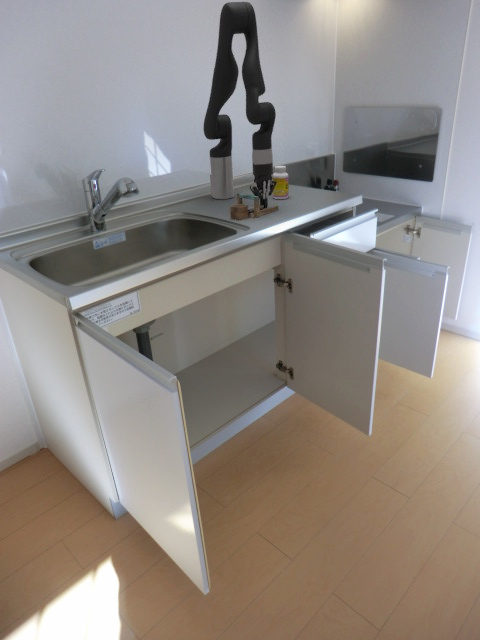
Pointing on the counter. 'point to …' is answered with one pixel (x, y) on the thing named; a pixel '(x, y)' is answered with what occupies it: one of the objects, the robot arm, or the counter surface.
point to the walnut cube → (239, 211)
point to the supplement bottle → (281, 183)
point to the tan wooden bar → (251, 209)
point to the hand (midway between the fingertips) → (263, 208)
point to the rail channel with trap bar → (255, 205)
